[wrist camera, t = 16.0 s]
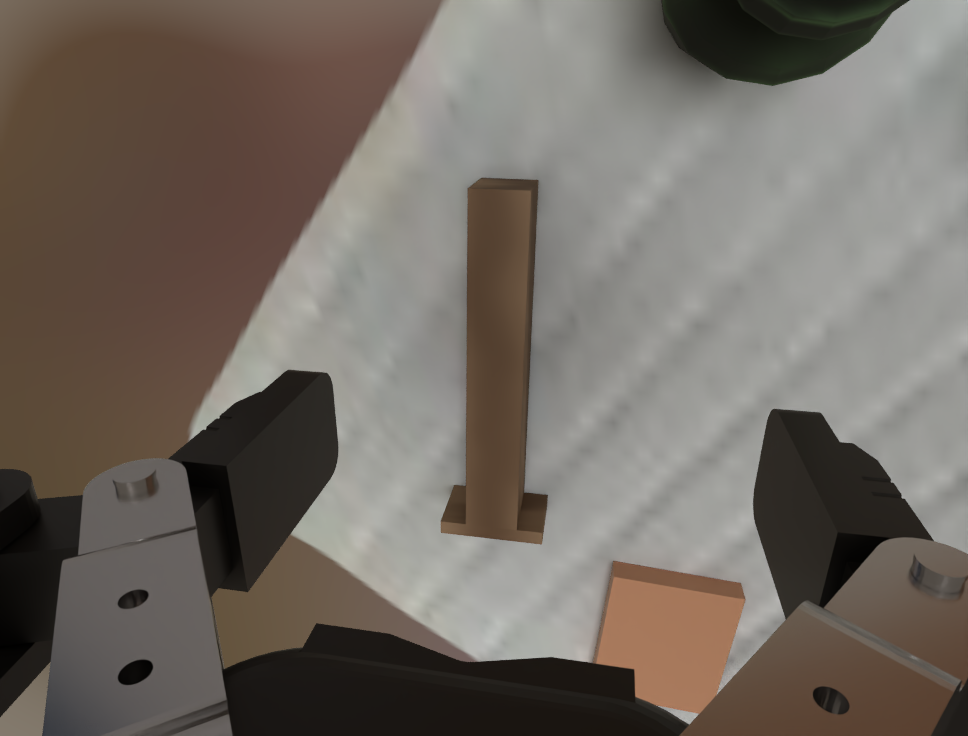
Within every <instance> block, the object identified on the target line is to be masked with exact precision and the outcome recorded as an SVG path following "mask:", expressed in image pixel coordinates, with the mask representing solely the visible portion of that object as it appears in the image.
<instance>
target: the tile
mask: <svg viewBox="0 0 968 736" xmlns="http://www.w3.org/2000/svg"><path fill="white" fill-rule="evenodd" d="M744 603H745V596H744V593H743V589H742V586H741V583H737V582H731V581H725V580H719V579H714V578H708V577H702V576H697V575H691V574H685V573H679V572H674V571H668V570H662V569H657V568H651V567H645V566H640V565H634V564H628V563H622V562H617V561H613V565H612V570H611V575H610V580H609V585H608V590H607V595H606V600H605V605H604V610H603V615H602V620H601V625H600V630H599V635H598V640H597V645H596V650H595V655H594V660H593V663H595V664H602V665H609V666H616V667H623V668H629V669H634V671H635V697H637V698H640V699H642V700H645V701H647V702H650V703H652V704H654V705H658V706H663V707H668V708H673V709H678V710H683V711H689V712H694V713H699V714H700V713H701V712H702V710H703V709H704V708H705V707H706V706H707V705H708V704H709V703H710V702H711V701H712V700H713V699H714V697H715V696H716V694H717V691H718V688H719V684H720V681H721V678H722V675H723V671H724V668H725V665H726V662H727V658H728V655H729V652H730V648H731V645H732V642H733V639H734V635H735V632H736V629H737V626H738V622H739V619H740V616H741V613H742V609H743V606H744Z"/></svg>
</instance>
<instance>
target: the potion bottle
mask: <svg viewBox="0 0 968 736" xmlns="http://www.w3.org/2000/svg"><path fill="white" fill-rule="evenodd" d="M908 1H909V0H662V7H663V15H664V22H665V25H666V26H667V28H668V30H669V31H670V33H671V35H672V36H673V38H674V40H675V41H676V43H677V45H678V47H679V48H680V49H682V50H683V51H685V52H686V53H688V54H689V55H691V56H692V57H694V58H695V59H697V60H698V61H699V62H701V63H702V64H704V65H706V66H707V67H709V68H710V69H712V70H713V71H715V72H717V73H718V74H720V75H721V76H723V77H725V78H726V79H733V80H739V81H745V82H752V83H758V84H764V85H771V86H774V85H778V84H782V83H786V82H790V81H794V80H798V79H802V78H806V77H810V76H814V75H818V74H822V73H824V72H825V71H827V70H828V69H830V68H831V67H833V66H834V65H836V64H837V63H839V62H840V61H842V60H843V59H845V58H846V57H848V56H849V55H851V54H852V53H854V52H855V51H857V50H858V49H860V48H861V47H863V46H864V45H866V44H867V43H869V42H870V40H871V39H872V38H873V37H874V35H875V34H876V33H877V31H878V30H879V29H880V28H881V26H882V25H883V24H884V22H885V21H886V20H887V19H888V17H889V16H890V15H891V13H892V12H893V11H895V10H896V9H898V8H899V7H900V6H902V5H903V4H905V3H906V2H908Z"/></svg>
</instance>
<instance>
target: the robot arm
mask: <svg viewBox="0 0 968 736" xmlns="http://www.w3.org/2000/svg"><path fill="white" fill-rule="evenodd" d="M337 459H338V437H337V427H336V416H335V405H334V394H333V385H332V381H331V378H330V376H329V375H328V374H327V373H323V372H310V371H297V370H287V371H286V372H284V373H283V374H282V375H281V376H280V377H278V378H277V379H276V380H275V381H274V382H273V383H272V384H270V385H269V386H268V387H267V388H266V389H265V390H263V391H262V392H258V393H256V394H254V395H252V396H249V397H247V398H245V399H243V400H240V401H238V402H236V403H235V404H233V405H232V406H231V407H230V408H229V409H227V410H226V411H225V412H224V413H223V414H221V415H220V418H219V419H215V420H214V421H213V422H212V423H211V424H209V425H208V426H207V428H206V430H202V431H201V432H200V433H199V434H197V435H196V436H195V437H194V438H193V439H191V440H190V441H189V442H188V443H187V444H185V445H184V446H183V447H182V448H181V449H179V450H178V451H177V452H176V453H175V454H173V455H172V456H171V457H170V458H169V459H160V458H159V459H158V458H155V459H143V460H137V461H132V462H128V463H125V464H121V465H118V466H116V467H114V468H111V469H109V470H107V471H105V472H103V473H101V474H100V475H98V476H97V477H95V478H94V479H93V480H91V482H89V484H88V485H87V486H86V488H85V489H84V492H83V495H81V496H69V497H56V498H45V499H37V496H36V492H35V489H34V486H33V482H32V479H31V476H29V475H28V474H27V473H26V472H24V471H20V470H14V469H0V717H1V716H2V715H3V713H4V712H5V711H6V710H7V709H8V708H9V706H11V704H13V702H14V701H15V700H16V699H17V698H18V697H19V696H20V695H21V694H22V692H23V691H24V690H25V689H26V688H27V687H28V686H29V685H30V684H31V683H32V681H33V680H34V679H35V678H36V677H37V676H38V675H39V674H40V673H41V671H42V670H43V669H44V668H45V667H46V666H47V665H48V664H49V663H50V662H51V663H50V672H49V680H48V690H47V698H46V707H45V716H44V726H43V733H42V736H968V554H966V553H964V552H962V551H960V550H958V549H956V548H953V547H950V546H947V545H945V544H941V543H938V542H934V540H933V539H932V537H931V536H930V535H929V533H928V532H927V530H926V529H925V527H924V526H923V525H922V523H921V522H920V520H919V519H918V517H917V516H916V515H915V513H914V512H913V510H912V509H911V507H910V506H909V505H908V503H907V502H906V500H905V499H902V498H901V496H902V495H901V493H900V492H899V490H898V489H897V487H896V486H895V485H894V483H891V479H890V477H889V476H888V475H887V473H886V472H885V470H884V469H883V467H882V466H881V465H880V463H879V462H878V460H876V459H875V458H873V457H872V456H870V455H869V454H868V453H866V452H865V451H863V450H862V449H860V448H859V447H857V446H856V445H855V444H853V443H842V442H839V440H838V439H837V437H836V436H835V434H834V432H833V431H832V429H831V428H830V426H829V425H828V423H827V421H826V420H825V418H824V417H823V415H822V414H821V413H819V412H807V411H794V410H781V409H773V410H772V411H771V412H770V414H769V417H768V420H767V425H766V430H765V435H764V440H763V445H762V451H761V456H760V461H759V467H758V472H757V477H756V482H755V488H754V498H753V510H754V520H755V524H756V527H757V530H758V534H759V537H760V540H761V543H762V546H763V549H764V552H765V556H766V559H767V562H768V565H769V568H770V571H771V574H772V577H773V581H774V584H775V587H776V590H777V593H778V596H779V599H780V603H781V606H782V609H783V612H784V615H785V618H786V620H785V621H784V622H783V624H782V625H781V626H780V627H779V628H778V629H777V630H776V631H775V632H774V633H773V634H772V636H771V637H770V638H769V639H768V640H767V641H766V642H765V643H764V644H763V645H762V646H761V647H760V649H759V650H758V651H757V652H756V653H755V654H754V655H753V656H752V657H751V658H750V659H749V660H748V662H747V663H746V664H745V665H744V666H743V667H742V668H741V669H740V670H739V671H738V672H737V674H736V675H735V676H734V677H733V678H732V679H731V680H730V681H729V682H728V683H727V684H726V685H725V687H724V688H723V689H722V690H721V691H720V692H719V693H718V694H717V695H716V696H715V697H714V699H713V700H712V701H711V702H710V703H709V704H708V705H707V706H706V707H705V708H704V709H703V710H702V712H701V713H700V714H699V715H698V716H697V717H696V718H695V719H694V720H693V721H692V722H691V724H690V725H689V724H687V723H686V722H684V721H682V720H681V719H679V718H678V717H676V716H674V715H673V714H671V713H669V712H668V711H666V710H664V709H662V708H660V707H658V706H656V705H654V704H652V703H650V702H647V701H645V700H642V699H640V698H637V697H635V671H634V669H629V668H623V667H616V666H609V665H602V664H595V663H588V662H581V661H574V660H567V659H560V658H553V657H548V658H532V659H516V660H500V661H483V662H463V661H459V660H456V659H453V658H451V657H448V656H446V655H443V654H441V653H438V652H435V651H433V650H430V649H427V648H425V647H422V646H420V645H417V644H415V643H412V642H409V641H406V640H404V639H401V638H399V637H396V636H394V635H391V634H387V633H380V632H372V631H366V630H359V629H352V628H345V627H338V626H331V625H324V624H316V625H315V627H314V629H313V630H312V632H311V634H310V636H309V638H308V639H307V641H306V643H305V645H304V646H303V648H293V649H286V650H281V651H275V652H271V653H268V654H264V655H260V656H256V657H253V658H250V659H248V660H245V661H242V662H239V663H237V664H235V665H232V666H230V667H228V668H226V669H225V668H224V662H223V657H222V652H221V647H220V641H219V636H218V630H217V625H216V620H215V614H214V609H213V604H212V599H211V597H212V595H213V594H214V593H215V591H216V590H217V589H218V588H222V589H230V590H237V591H245V592H248V591H249V590H250V588H251V587H252V586H253V584H254V583H255V582H256V580H257V579H258V578H259V576H260V575H261V573H262V572H263V571H264V569H265V568H266V566H267V565H268V564H269V562H270V561H271V560H272V558H273V557H274V555H275V554H276V553H277V551H278V550H279V549H280V547H281V546H282V545H283V543H284V542H285V540H286V539H287V538H288V536H289V535H290V534H291V532H292V531H293V529H294V528H295V527H296V525H297V524H298V523H299V521H300V520H301V518H302V517H303V516H304V514H305V513H306V512H307V510H308V509H309V507H310V506H311V505H312V503H313V502H314V501H315V499H316V498H317V496H318V495H319V494H320V492H321V491H322V490H323V488H324V487H325V486H326V484H327V483H328V481H329V480H330V479H331V477H332V475H333V473H334V471H335V468H336V464H337Z"/></svg>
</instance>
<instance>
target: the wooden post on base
mask: <svg viewBox="0 0 968 736" xmlns="http://www.w3.org/2000/svg"><path fill="white" fill-rule="evenodd" d="M537 200H538V180H523V179H497V178H481V179H480V180H478V181H477V182H476V183H474V184H473V185H472V186H470V187H469V188H468V238H467V406H466V486H458V485H454V487H453V490H452V493H451V495H450V498H449V501H448V504H447V506H446V509H445V512H444V514H443V517H442V520H441V533H448V534H457V535H465V536H474V537H483V538H491V539H500V540H508V541H517V542H526V543H534V544H542V539H543V532H544V525H545V517H546V510H547V498H548V495H542V494H533V493H524V482H525V460H526V438H527V417H528V395H529V373H530V352H531V330H532V309H533V287H534V265H535V244H536V222H537Z"/></svg>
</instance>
